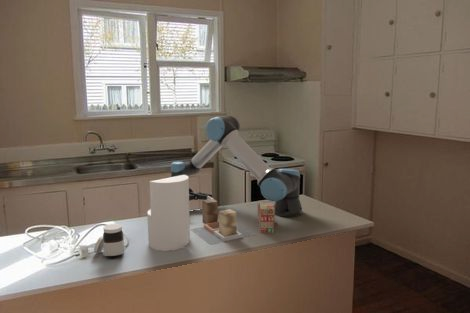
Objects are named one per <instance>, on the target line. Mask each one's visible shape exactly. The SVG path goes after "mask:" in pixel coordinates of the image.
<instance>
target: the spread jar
mask: <svg viewBox="0 0 470 313" xmlns="http://www.w3.org/2000/svg"><path fill="white" fill-rule="evenodd" d="M124 240H125V238H124V232H123V226H122V224H119V223H110V224H106V225H105V226H103V234H102V235H101V236H100V237H98V239H97V241H96V243H95V245H94V248H93V252H94V253H95V254H97V255H98V254H100V253H101V252H102V251H103V256H104V258H106V259H109V260H110V259H111V260H114V259H119V258H121V257H123V256H124V254H125V241H124Z"/></svg>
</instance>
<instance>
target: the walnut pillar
mask: <svg viewBox="0 0 470 313" xmlns="http://www.w3.org/2000/svg"><path fill="white" fill-rule="evenodd" d="M201 202H202V203H201V204H202V205H201V206H202V207H201V208H202V223H203V224H208V223H213V222H219V210H218V209H219V208H218V200H217V199H215V198H213V199H207V200H201Z"/></svg>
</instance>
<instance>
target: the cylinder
mask: <svg viewBox="0 0 470 313" xmlns="http://www.w3.org/2000/svg"><path fill="white" fill-rule="evenodd" d="M189 178H190V177H189V176H187V175H180V176H175V177H171V176H170V177H166V178H160V179H155V180H150V181H149V200H150V201H149V202H150V209H148V210H147V212H146V213H147V214H146V215H147V234H148V235H147V236H148V238H147V239H148V240H147V241H148V247H149V248H151V249H153V250H155V251H159V252H160V251H163V252H168V251H169V250H172V251H176V250H177V249H178V250H181V249H184V248H186V247H187V245H188V244H189V243H190V241H191V230H190V227H191V225H190V224H191V223H190V201H189V188H190V185H189V184H190V180H189ZM183 247H184V248H183ZM180 248H181V249H180Z"/></svg>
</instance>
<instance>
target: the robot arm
mask: <svg viewBox="0 0 470 313" xmlns="http://www.w3.org/2000/svg"><path fill="white" fill-rule="evenodd" d="M240 128H241V124H240V122H239V120H238V119H237V118H236V117H235V116H232V115H225V116H216V117H215V116H214V117H212V118H210V119H209V120H208V121H207V123H206V126H205V133H206V136H207V137H208V139H209V140H208V142H206V144H205V145H203V147H202V148H201V149H200V150H199V151H198V152H196V154H195V155H194V156H193V157H192V158H191V159H190V160H189V161H188V162H186V163H185V162H184V161H173V162H171V164H170V165H171V166H170V174H171V176H170V177H175V176H180V175H187V176H188V177H189V176H194V175H197V174H198V173H200V172H201V171H202V167H204V165H206V164H207V163H208V162H209V161H210V160H211V158H213V157H214V155H216V153H217V152H219V151H220V150H221V148H223V147H224V148H226V149H228V151H230V152H231V154H233V155H234V157H235V158H236V159H237V160H238V161H239V162H240V163H241V164H242V165H243V166H244V167H245V168H246V169H247V170H248V171H249V172H250V174H251V175H252V176H253V177H254V178H255V179H256V180H257V186H258V187H259V188H260V189H259V190H260V193H261V195H262V196H263V198H264V199H265V200H266V201H272V202H274V203H273V205H274V208H275V213H274V215H276V216H280V217H285V218H293V217H294V218H295V217H299V216H301V215H302V214H303V207H302V203H301V201H300V186H301V185H300V184H301V182H300V181H301V180H300V179H301V175H300V174H301V173H300V171H299V170H297V169H292V168H278V169H276V168H275V167H270V166H269V165H268V164H267V163H266V162H265V161H264V160H263V158H261V157H260V156H259V155H258V154H257V153H256V152H255V150H254V149H252V147H251V146H250V145H249V144H248V143H247V142H245V140H244V139H243V138H242V137H241V136H240V135H239V132H240ZM207 199H214V198H213V194H210V193H205V192H201V191H198V192H194V190H193V189H192V188H190V187H189V202H190V201H194V200H195V201H198V200H201V201H202V200H207Z"/></svg>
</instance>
